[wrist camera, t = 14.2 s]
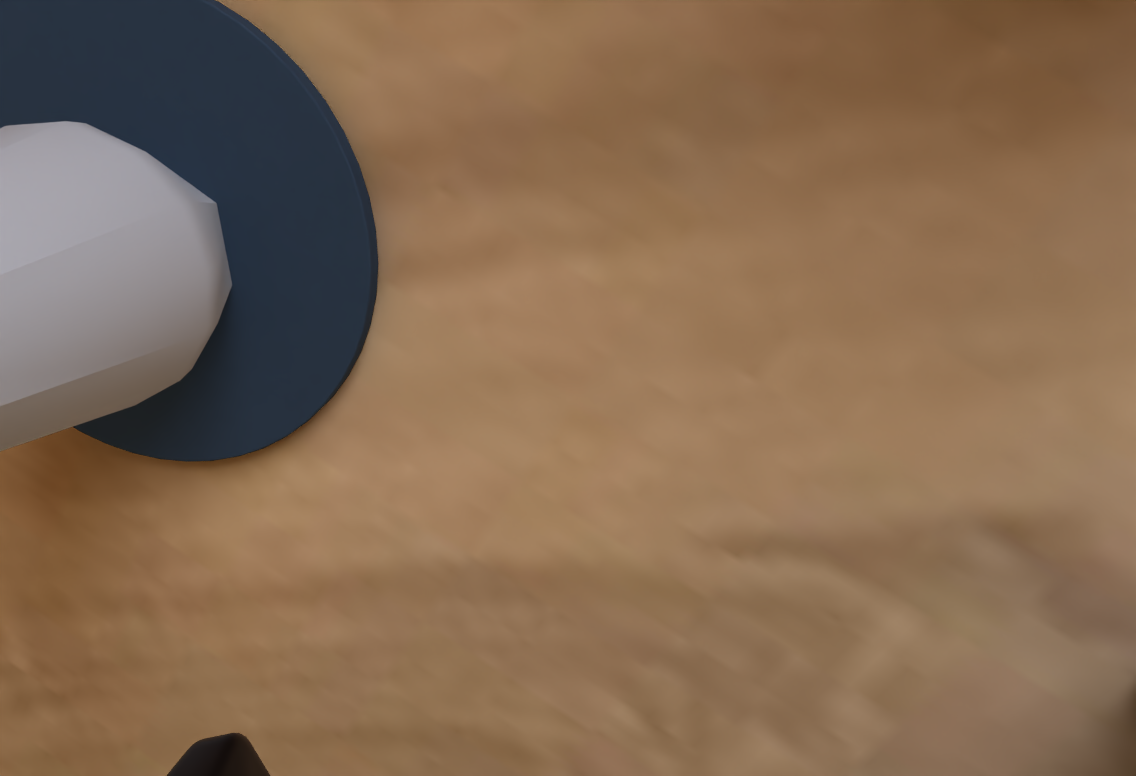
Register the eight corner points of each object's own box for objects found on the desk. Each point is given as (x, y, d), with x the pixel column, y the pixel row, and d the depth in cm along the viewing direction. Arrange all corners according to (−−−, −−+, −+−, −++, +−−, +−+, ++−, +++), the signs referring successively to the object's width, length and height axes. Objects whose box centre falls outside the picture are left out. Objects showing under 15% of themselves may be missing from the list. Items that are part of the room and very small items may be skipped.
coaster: (464, 360, 21) (458, 368, 20) (107, 508, 24) (95, 518, 24) (206, -134, 18) (192, -138, 18) (-157, 112, 22) (-177, 115, 21)
